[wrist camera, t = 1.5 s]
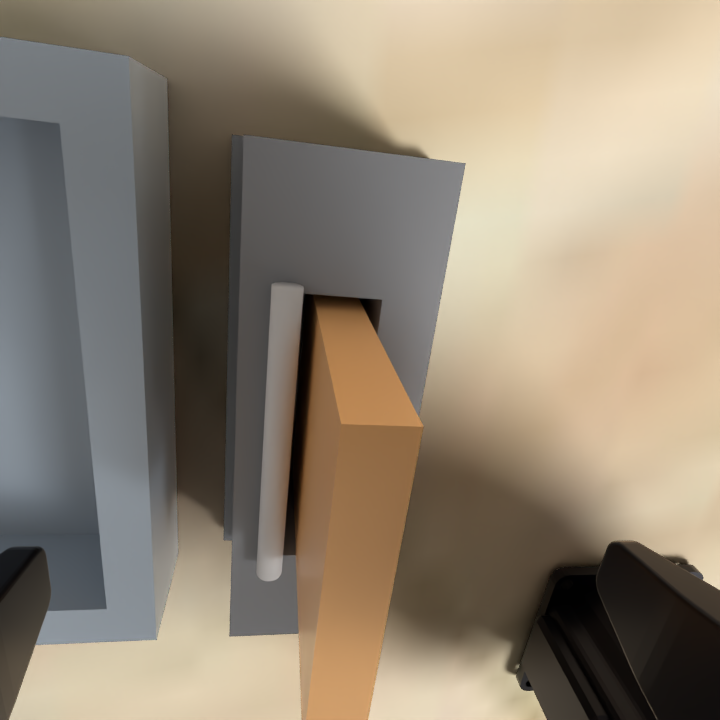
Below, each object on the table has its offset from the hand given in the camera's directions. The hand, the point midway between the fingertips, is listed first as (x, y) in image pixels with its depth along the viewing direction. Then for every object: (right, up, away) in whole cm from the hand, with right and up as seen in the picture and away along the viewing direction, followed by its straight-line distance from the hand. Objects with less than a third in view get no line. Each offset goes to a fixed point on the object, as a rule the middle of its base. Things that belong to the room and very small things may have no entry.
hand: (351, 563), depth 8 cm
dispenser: (-1, +3, +7) cm, 8 cm away
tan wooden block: (-1, +3, +6) cm, 7 cm away
